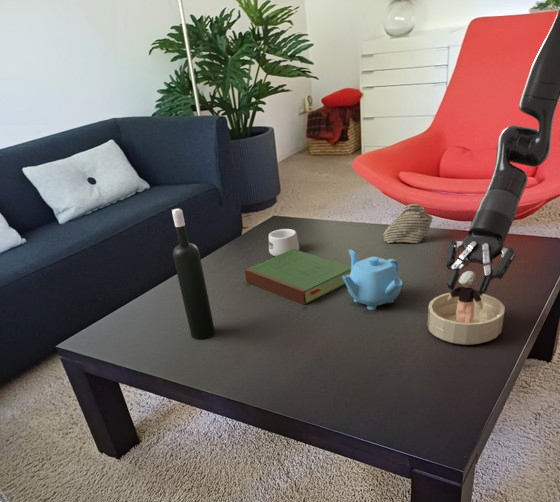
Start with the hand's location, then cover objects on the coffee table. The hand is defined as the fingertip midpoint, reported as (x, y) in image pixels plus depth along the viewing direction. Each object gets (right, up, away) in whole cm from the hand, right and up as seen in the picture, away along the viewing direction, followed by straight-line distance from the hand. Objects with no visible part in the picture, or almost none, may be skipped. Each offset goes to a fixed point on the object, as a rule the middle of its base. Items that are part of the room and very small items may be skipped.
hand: (464, 290), depth 109 cm
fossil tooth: (+1, +24, +54) cm, 60 cm away
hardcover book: (-33, +8, +37) cm, 50 cm away
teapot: (-15, +1, +22) cm, 27 cm away
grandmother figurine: (+2, -7, +7) cm, 10 cm away
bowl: (+2, -7, +7) cm, 10 cm away
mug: (-38, +22, +58) cm, 73 cm away
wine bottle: (-57, -8, +17) cm, 60 cm away
